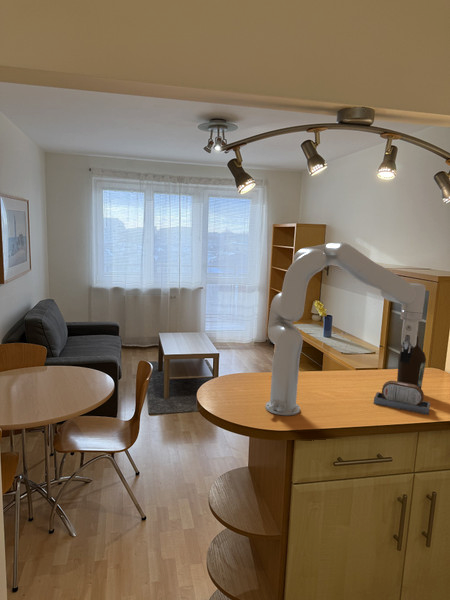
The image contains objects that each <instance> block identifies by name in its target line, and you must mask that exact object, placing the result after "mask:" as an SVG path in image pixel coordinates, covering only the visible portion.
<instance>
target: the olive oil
mask: <svg viewBox="0 0 450 600" xmlns="http://www.w3.org/2000/svg"><path fill="white" fill-rule="evenodd" d="M419 337H420V336H419V335H417V342H416V346H415V347H413V346H412V347H411V348H413V349H412V357H411V358H410V361H409V363H403V362H400V357H401V351H402V349H401V350H400V351H399V354H398V358H397V359H398V362H397V376H396V377H397V378H396V380H397V381H398V382H403V383H408V384H413V385H416V386H418V387H420V388H421V389H422V387H423V386H422V385H423V380H424V374H425V368H426V364H427V362H426V361H427V357H426V354H425V352H424V351H423V350H422V349H421V347H420V346H419V341H420V339H419Z"/></svg>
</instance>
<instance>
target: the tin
mask: <svg viewBox="0 0 450 600" xmlns="http://www.w3.org/2000/svg"><path fill="white" fill-rule="evenodd" d="M381 393H382V395H383V397H384V398H385V399H387V400H392V401H397V402H402V403H407V404H412V405H417V406H418V405H420V404H421V403H422V401H424V398H425V394H424V392H423V389H422V387H421V388H420V387H418V386H416V385H413V384H408V383H403V382H398V381H396V380H389V381H386V382H385V383H384V384H383V385H382V389H381Z"/></svg>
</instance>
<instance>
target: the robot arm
mask: <svg viewBox="0 0 450 600" xmlns="http://www.w3.org/2000/svg"><path fill="white" fill-rule="evenodd" d="M329 266H337V267H338V268H339V269H342V270H343V271H344V272H346V273H347V274H348V275H350V276H352V277H353V278H354V279H356V280H357V281H359V282H360V283H362V284H364V285H367V286H369V287H373V288H376V289H377V290H380V295H381V297H383V299H385V300H386V301H388V302H392V303H397V304H400V305H401V309H400V316H399V319H400V320H402V329H401V338H400V340H401V342H400V345H401V346H402V348H401V350H402V351H401V350H400V352H401V357H400V362H403V363H409V361H410V358H411V357H412V349H413V348H411V347H412V346H413V347H415V346H416V342H417V336H418V331H419V322H422V319H423V313H424V304H425V299H426V290H427V289H426V285H425V284H422V283H415V282H408V281H407V280H405V279H404V278H402V277H401V276H399V275H398V274H397V273H395V272H394V271H391V270H390V269H387V268H385V267H384V266H382V265H380V264H378V263H377V262H375V261H373V260H372V259H371V258H369V257H368V256H366V255H364V254H363V253H362V252H360V251H359V249H356V248H355V247H353V246H352V245H351V244H349V243H346V242H329V243H323V244H319V245H314V246H307V247H303V248H300V249H299V250H298V251H296V252H295V254H294V256H293V262H292V263H291V264H290V266H289V267H288V269H287V270H286V272H285V275H284V279H283V283H282V287H281V292H279V293H278V294H276V295H275V296H274V297H273V298H272V301H271V304H270V309H269V316H268V323H267V337H268V339H269V340H270V342H271V343H272V344H274V346H275V347H274V352H273V356H272V364H271V382H270V383H271V384H270V397H269V401H267V402H266V403H265V409H266V411H268V412H270V413H271V414H275V415H278V416H295V415H297V414H299V413H300V411H301V407H300V405H298V403H297V398H298V397H297V395H298V381H299V369H300V368H299V367H300V359H301V358H300V357H301V353H302V349H303V348H302V347H303V343H304V339H303V335H302V333H301V330H299V329H298V328H297V327H296V326H295V325H293V322H297V321H299V320H301V318H303V315H304V312H305V311H304V310H305V304H306V303H305V302H306V296H307V289H308V285H309V282H310V280H311V279H312V277H314V276H315V275H316V274H317V273H319V272H321V271H323V269H324V268H325V267H329Z"/></svg>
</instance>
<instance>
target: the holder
mask: <svg viewBox="0 0 450 600" xmlns="http://www.w3.org/2000/svg"><path fill="white" fill-rule="evenodd" d="M373 404H374V405H377V406H378V405H379V406H383V407H387V408H392V409H397V410H398V409H399V410H402V411H406V412H412V413H417V414H422V415H427V416H429V413H430V408H431V407H430V406H431V401H425V400H423V401H422V403H421V404H420V405H418V406H417V405H412V404H407V403H402V402H397V401H392V400H387V399H385V398H384V397H383V395H382V392H379V391H376V394H375V395H374V398H373Z"/></svg>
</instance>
